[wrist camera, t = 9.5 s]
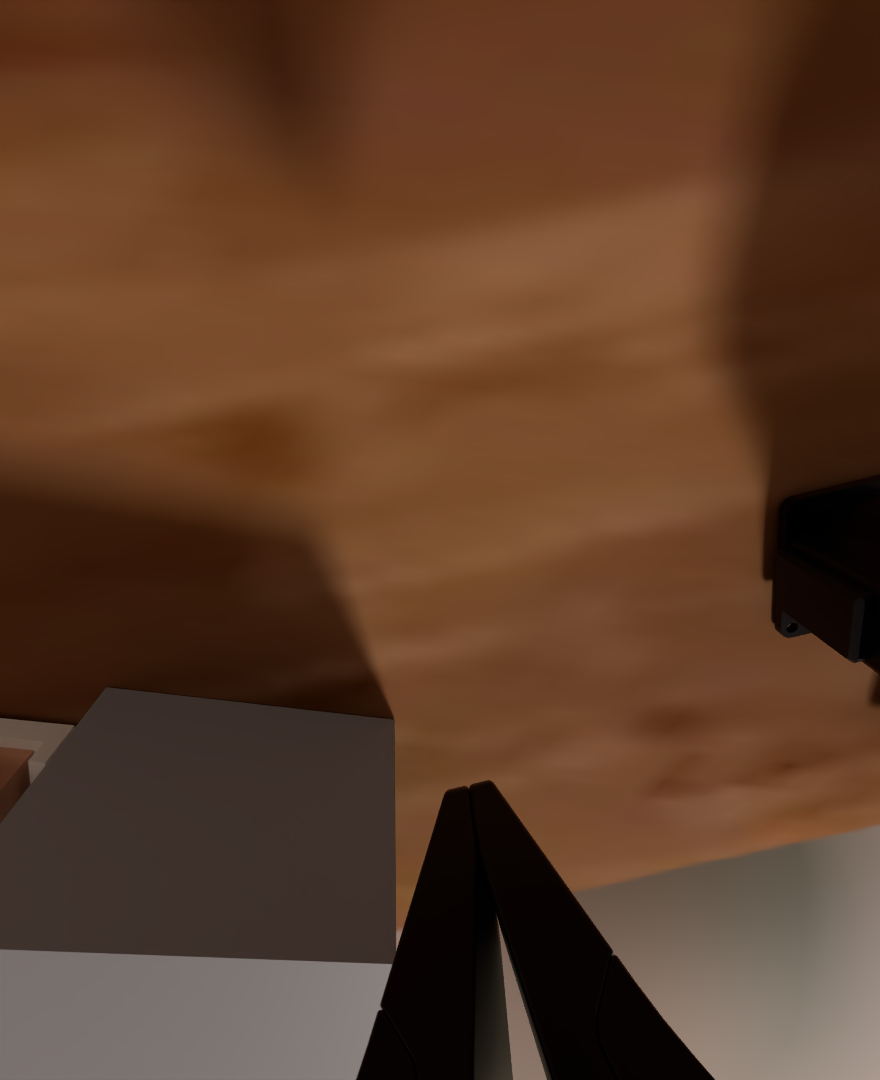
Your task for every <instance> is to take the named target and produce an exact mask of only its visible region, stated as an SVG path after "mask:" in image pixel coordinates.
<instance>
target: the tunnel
mask: <svg viewBox="0 0 880 1080" xmlns="http://www.w3.org/2000/svg"><path fill="white" fill-rule="evenodd" d="M395 954H396V858H395V720H393V719H384V718H375V717H366V716H357V715H348V714H339V713H331V712H322V711H313V710H304V709H295V708H286V707H277V706H268V705H260V704H251V703H242V702H233V701H224V700H215V699H206V698H198V697H189V696H180V695H171V694H162V693H153V692H144V691H135V690H127V689H118V688H109V687H106V688H105V689H104V691H103V692H102V693H101V695H100V696H99V697H98V698H97V700H96V701H95V702H94V704H93V705H92V706H91V707H90V709H89V710H88V711H87V713H86V714H85V715H84V716H83V718H82V719H81V720H80V722H79V723H78V724H77V726H76V727H75V728H74V729H73V731H72V732H71V733H70V735H69V736H68V737H67V738H66V740H65V741H64V742H63V744H62V745H61V746H60V747H59V749H58V750H57V751H56V753H55V754H54V755H53V756H52V758H51V759H50V760H49V762H48V763H47V764H46V765H45V767H44V768H43V769H42V771H41V772H40V773H39V774H38V776H37V777H36V778H35V780H34V781H33V782H32V783H31V785H30V786H29V787H28V789H27V790H26V791H25V793H24V794H23V795H22V796H21V798H20V799H19V800H18V802H17V803H16V804H15V805H14V807H13V808H12V809H11V811H10V812H9V813H8V814H7V816H6V817H5V818H4V820H3V821H2V822H1V823H0V1080H356V1078H357V1075H358V1072H359V1069H360V1066H361V1063H362V1060H363V1057H364V1054H365V1051H366V1047H367V1044H368V1041H369V1038H370V1035H371V1032H372V1028H373V1025H374V1022H375V1018H376V1015H377V1012H378V1011H379V1010H382V1009H381V1007H380V1003H381V1000H382V996H383V993H384V990H385V987H386V983H387V980H388V977H389V973H390V970H391V967H392V964H393V960H394V957H395Z"/></svg>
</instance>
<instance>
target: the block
mask: <svg viewBox="0 0 880 1080" xmlns="http://www.w3.org/2000/svg"><path fill="white" fill-rule="evenodd" d="M33 754H34V750H26V749H16V748H5V747H0V823H1V822H2V821H3V820H4V818H5V817H6V816H7V814H8V813H9V812H10V811H11V809H12V808H13V807H14V805H15V804H16V803H17V802H18V800H19V799H20V798H21V796H22V795H23V794H24V793H25V791H26V790H27V789H28V787H29V786H30V777H29V766H28V760H29V759H30V758H31V757H32V756H33Z"/></svg>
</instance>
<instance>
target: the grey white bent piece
mask: <svg viewBox="0 0 880 1080" xmlns="http://www.w3.org/2000/svg"><path fill="white" fill-rule="evenodd" d="M73 729H74V725H65V724H55V723H45V722H35V721H25V720H15V719H5V718H0V747H5V748H16V749H26V750H34V754H33V756H32V757H31V758H30V759H29V760H28V766H29V777H30V785H31V783H32V782H33V781H34V780H35V778H36V777H37V776H38V774H39V773H40V772H41V771H42V769H43V768H44V767H45V765H46V764H47V763H48V762H49V760H50V759H51V758H52V756H53V755H54V754H55V753H56V751H57V750H58V749H59V747H60V746H61V745H62V744H63V742H64V741H65V740H66V738H67V737H68V736H69V735H70V733H71V732H72V731H73Z"/></svg>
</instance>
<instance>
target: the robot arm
mask: <svg viewBox="0 0 880 1080" xmlns="http://www.w3.org/2000/svg"><path fill="white" fill-rule="evenodd" d="M796 506H798V509H797V510H796V511H795V512H794V513H793V509H794V508H795V507H796ZM775 606H776V608H775V629H776V630H777V631H778V632H779V633H780V634H781V635H783V636H784V637H787V638H790V637H796V636H800V635H804V634H808V633H813V634H814V635H815V636H817V637H818V638H819V639H821V640H822V641H823V642H825V643H826V644H827V645H829V646H830V647H831V648H833V649H834V650H835V651H837V652H838V653H839V654H841V655H842V656H843V657H845V658H846V659H848V660H849V661H851V662H853V663H856V662H860V661H862V662H863V663H865V664H866V665H867V666H869V667H870V668H872V669H873V670H874V671H876V672H877V673H878V674H880V475H879V476H875V477H870V478H866V479H862V480H858V481H854V482H849V483H845V484H841V485H837V486H833V487H829V488H824V489H820V490H816V491H812V492H808V493H803V494H799V495H795V496H792V497H789V498H787V499H786V500H785V501H784V502H783V503H782V505H781V507H780V511H779V535H778V554H777V558H776V583H775ZM789 624H791V625H790V626H789V627H787V626H788V625H789ZM497 918H498V919H497ZM498 921H499V925H500V928H501V931H502V935H503V938H504V942H505V945H506V948H507V952H508V955H509V958H510V961H511V964H512V968H513V971H514V974H515V977H516V981H517V983H518V987H519V990H520V993H521V997H522V1000H523V1003H524V1007H525V1010H526V1013H527V1016H528V1019H529V1023H530V1026H531V1029H532V1032H533V1035H534V1039H535V1042H536V1045H537V1049H538V1052H539V1055H540V1058H541V1062H542V1064H543V1068H544V1071H545V1075H546V1078H547V1080H715V1079H714V1078H713V1077H712V1076H711V1075H710V1073H709V1072H708V1071H707V1070H706V1069H705V1068H704V1067H703V1065H702V1064H701V1063H700V1062H699V1061H698V1060H697V1059H696V1057H695V1056H694V1055H693V1054H692V1053H691V1051H690V1050H689V1049H688V1048H687V1047H686V1045H685V1044H684V1043H683V1042H682V1041H681V1039H680V1038H679V1037H678V1036H677V1034H675V1032H674V1031H673V1030H672V1029H671V1027H670V1026H669V1025H668V1024H667V1022H665V1020H664V1019H663V1018H662V1016H661V1015H660V1014H659V1012H658V1011H657V1010H656V1008H655V1007H654V1006H653V1004H652V1003H651V1002H650V1000H649V999H648V998H647V996H646V995H645V994H644V992H643V991H642V990H641V988H640V987H639V986H638V985H637V983H636V982H635V981H634V979H633V978H632V977H631V975H630V973H629V972H628V971H627V969H626V968H625V967H624V965H623V964H622V962H621V961H620V959H619V958H618V957H617V956H616V955H613V950H612V949H611V947H610V946H609V944H608V943H607V942H606V940H605V939H604V937H603V936H602V935H601V933H600V932H599V930H598V929H597V928H596V926H595V925H594V924H593V922H592V921H591V919H590V918H589V916H588V915H587V914H586V912H585V911H584V909H583V908H582V906H581V905H580V904H579V902H578V901H577V899H576V898H575V897H574V895H573V894H572V892H571V891H570V890H569V888H568V887H567V885H566V884H565V883H564V881H563V880H562V878H561V877H560V876H559V874H558V873H557V871H556V870H555V868H554V867H553V866H552V864H551V863H550V861H549V860H548V859H547V857H546V856H545V854H544V853H543V852H542V850H541V849H540V847H539V846H538V845H537V843H536V842H535V840H534V839H533V838H532V836H531V835H530V833H529V832H528V831H527V829H526V828H525V826H524V825H523V823H522V822H521V821H520V819H519V818H518V816H517V815H516V814H515V812H514V811H513V809H512V808H511V807H510V805H509V804H508V802H507V801H506V800H505V798H504V797H503V795H502V794H501V793H500V791H499V790H498V788H497V787H496V785H495V784H494V783H493V782H492V781H490V780H487V781H483V782H479V783H475V784H472V785H471V786H470V788H468V787H467V786H462V787H458V788H453V789H449V790H447V791H446V792H445V794H444V797H443V800H442V803H441V807H440V810H439V813H438V816H437V820H436V823H435V826H434V829H433V833H432V836H431V839H430V843H429V846H428V849H427V852H426V856H425V859H424V862H423V865H422V869H421V872H420V875H419V879H418V882H417V885H416V888H415V892H414V895H413V898H412V901H411V905H410V908H409V911H408V915H407V918H406V921H405V924H404V928H403V931H402V934H401V937H400V941H399V944H398V948H397V951H396V954H395V957H394V960H393V964H392V967H391V970H390V973H389V977H388V980H387V983H386V987H385V990H384V993H383V996H382V1000H381V1003H380V1007H381V1009H382V1010H379V1011H378V1012H377V1015H376V1018H375V1022H374V1025H373V1028H372V1032H371V1035H370V1038H369V1041H368V1044H367V1047H366V1051H365V1054H364V1057H363V1060H362V1063H361V1066H360V1069H359V1072H358V1075H357V1078H356V1080H513V1075H512V1064H511V1054H510V1043H509V1031H508V1021H507V1009H506V998H505V988H504V976H503V965H502V955H501V943H500V934H499V925H498Z"/></svg>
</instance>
